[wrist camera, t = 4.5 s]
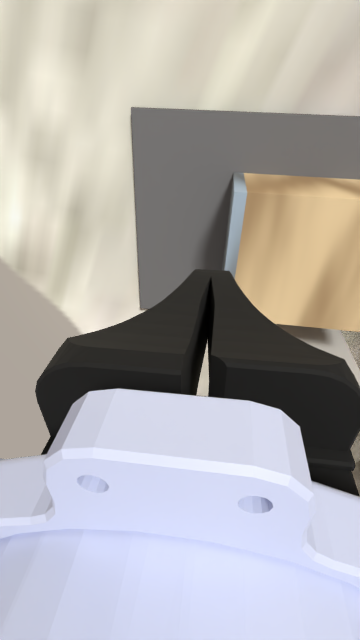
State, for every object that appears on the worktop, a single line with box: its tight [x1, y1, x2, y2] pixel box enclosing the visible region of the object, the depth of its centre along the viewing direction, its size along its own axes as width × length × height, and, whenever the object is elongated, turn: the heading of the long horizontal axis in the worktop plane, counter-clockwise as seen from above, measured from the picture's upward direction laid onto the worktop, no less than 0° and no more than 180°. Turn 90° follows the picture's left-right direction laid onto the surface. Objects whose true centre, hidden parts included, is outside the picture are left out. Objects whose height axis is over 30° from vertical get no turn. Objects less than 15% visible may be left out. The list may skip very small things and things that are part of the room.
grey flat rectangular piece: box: [131, 107, 360, 309], centre depth 17 cm, size 15×11×1 cm
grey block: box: [277, 324, 360, 386], centre depth 20 cm, size 4×4×5 cm
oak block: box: [222, 172, 360, 332], centre depth 15 cm, size 4×6×8 cm
